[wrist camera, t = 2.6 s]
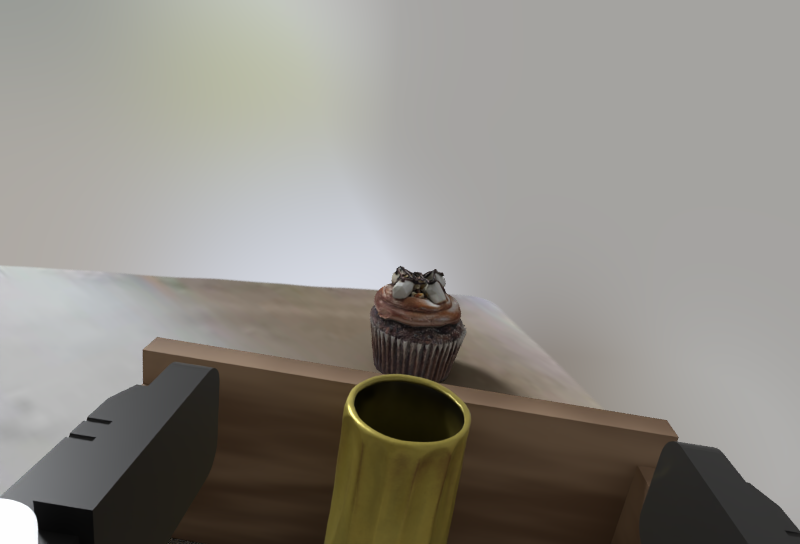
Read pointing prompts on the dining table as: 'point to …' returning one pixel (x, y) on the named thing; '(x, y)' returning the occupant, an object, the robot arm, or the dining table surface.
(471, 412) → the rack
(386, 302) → the cupcake
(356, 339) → the dining table surface
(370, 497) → the vase
